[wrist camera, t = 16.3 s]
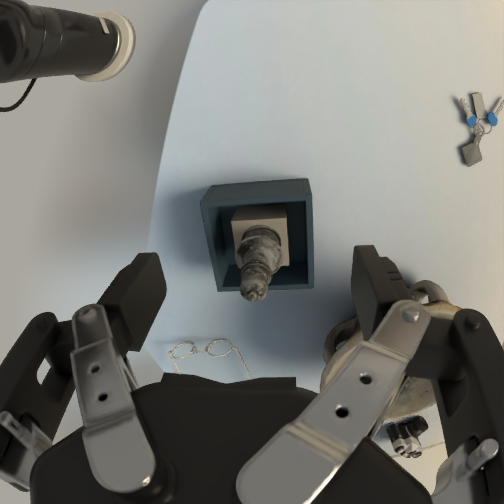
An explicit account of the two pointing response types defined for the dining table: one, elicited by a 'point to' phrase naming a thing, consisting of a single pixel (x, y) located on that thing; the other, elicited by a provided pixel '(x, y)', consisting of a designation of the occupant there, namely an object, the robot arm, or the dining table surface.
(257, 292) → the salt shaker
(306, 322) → the dining table surface
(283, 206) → the block
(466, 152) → the key chain
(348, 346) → the bowl
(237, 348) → the eyeglasses
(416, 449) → the camera
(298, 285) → the crate
